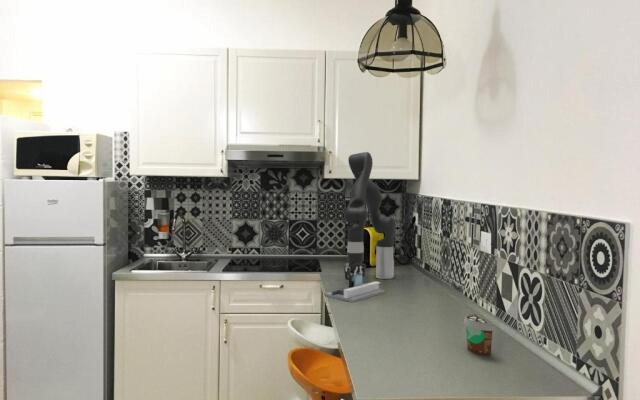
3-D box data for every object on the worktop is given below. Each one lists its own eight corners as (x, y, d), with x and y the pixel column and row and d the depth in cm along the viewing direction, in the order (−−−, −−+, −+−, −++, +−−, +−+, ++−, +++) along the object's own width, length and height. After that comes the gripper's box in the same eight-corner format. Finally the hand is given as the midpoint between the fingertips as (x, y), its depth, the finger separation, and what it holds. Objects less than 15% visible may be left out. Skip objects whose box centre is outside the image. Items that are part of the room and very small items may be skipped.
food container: (457, 343, 150) (457, 312, 150) (475, 343, 150) (476, 312, 150) (472, 357, 138) (473, 324, 137) (493, 357, 138) (493, 324, 138)
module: (354, 288, 219) (354, 273, 218) (362, 290, 216) (362, 274, 215) (347, 290, 215) (348, 274, 215) (355, 291, 212) (355, 275, 212)
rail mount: (356, 287, 230) (357, 278, 229) (384, 292, 219) (384, 282, 219) (324, 296, 212) (324, 285, 211) (352, 302, 201) (352, 291, 201)
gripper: (358, 248, 222) (358, 284, 223) (339, 251, 212) (338, 289, 212) (371, 250, 217) (370, 286, 218) (352, 253, 207) (351, 291, 207)
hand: (355, 287), depth 215 cm, fingers open, 5 cm apart
